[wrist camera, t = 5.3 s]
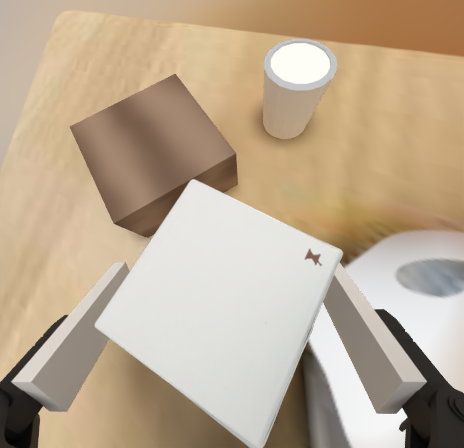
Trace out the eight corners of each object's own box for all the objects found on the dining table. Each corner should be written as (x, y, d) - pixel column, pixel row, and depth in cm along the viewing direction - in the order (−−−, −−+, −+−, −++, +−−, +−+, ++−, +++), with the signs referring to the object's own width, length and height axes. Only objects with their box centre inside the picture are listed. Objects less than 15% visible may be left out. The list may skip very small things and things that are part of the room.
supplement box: (222, 233, 21) (193, 169, 8) (283, 267, 19) (354, 250, 7) (185, 295, 19) (83, 326, 7) (249, 337, 18) (264, 469, 5)
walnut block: (190, 119, 26) (175, 73, 20) (237, 185, 22) (236, 153, 17) (110, 162, 24) (69, 126, 19) (148, 238, 21) (113, 223, 15)
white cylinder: (306, 148, 23) (333, 94, 16) (252, 138, 24) (256, 83, 17) (315, 105, 25) (342, 41, 18) (264, 97, 26) (271, 33, 19)
